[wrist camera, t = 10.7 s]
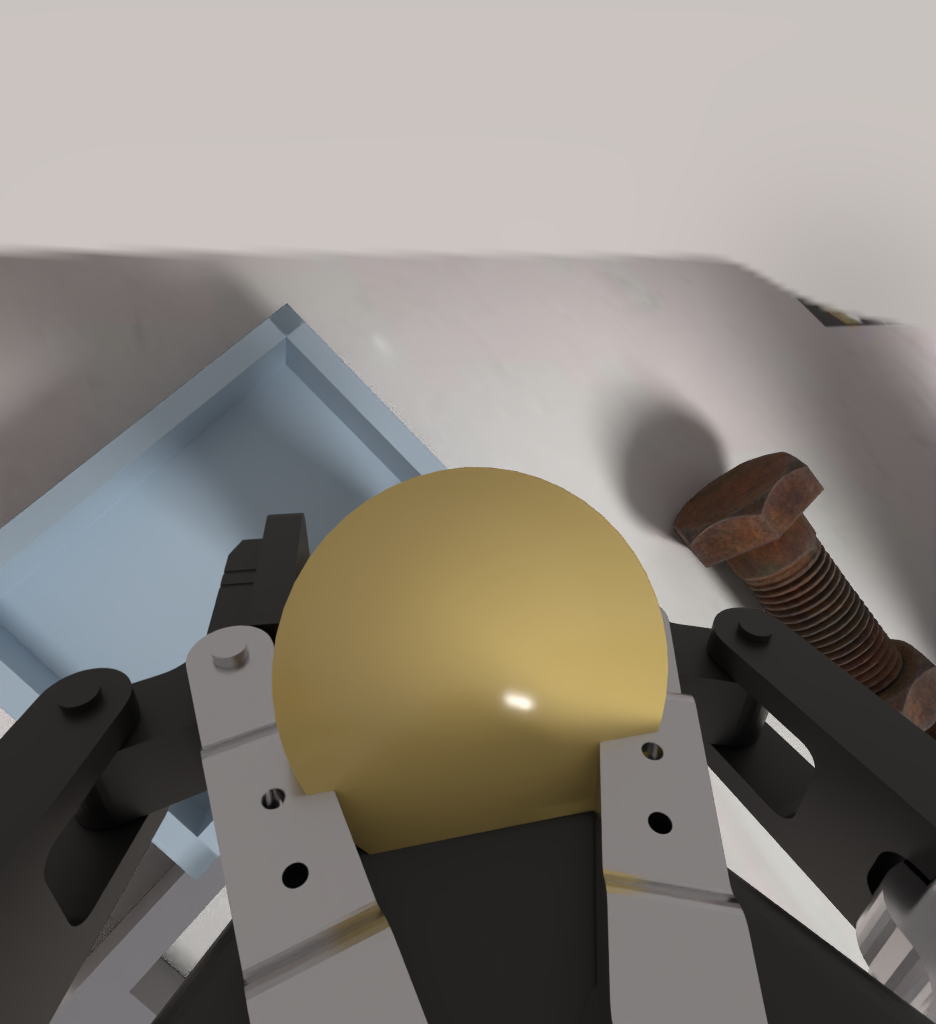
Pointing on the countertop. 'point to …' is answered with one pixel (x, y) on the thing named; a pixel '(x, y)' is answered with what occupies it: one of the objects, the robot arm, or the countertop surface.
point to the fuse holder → (139, 954)
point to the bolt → (803, 577)
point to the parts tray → (189, 522)
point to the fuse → (465, 657)
